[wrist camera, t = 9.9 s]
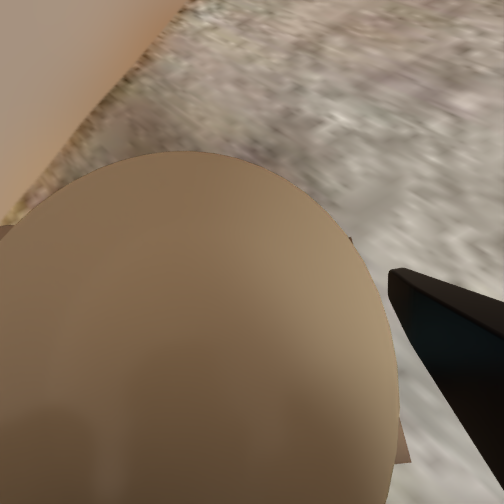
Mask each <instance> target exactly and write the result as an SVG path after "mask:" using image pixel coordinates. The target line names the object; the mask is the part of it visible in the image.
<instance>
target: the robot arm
mask: <svg viewBox="0 0 504 504" xmlns="http://www.w3.org/2000/svg"><path fill="white" fill-rule="evenodd" d="M388 297H389V300H390V302H391V304H392V306H393V308H394V310H395V313H396V315H397V317H398V319H399V321H400V323H401V325H402V327H403V329H404V331H405V333H406V335H407V337H408V339H409V341H410V343H411V345H412V346H413V348H414V350H415V351H416V353H417V355H418V356H419V358H420V359H421V361H422V362H423V364H424V366H425V367H426V369H427V370H428V372H429V373H430V375H431V377H432V378H433V380H434V381H435V383H436V384H437V386H438V388H439V389H440V391H441V392H442V394H443V396H444V397H445V399H446V400H447V402H448V403H449V405H450V407H451V408H452V410H453V411H454V413H455V414H456V416H457V418H458V419H459V421H460V422H461V424H462V425H463V427H464V429H465V430H466V432H467V433H468V435H469V436H470V438H471V440H472V441H473V443H474V444H475V446H476V448H477V449H478V451H479V452H480V454H481V455H482V457H483V459H484V460H485V462H486V463H487V465H488V466H489V468H490V470H491V471H492V473H493V474H494V476H495V477H496V479H497V481H498V482H499V484H500V485H501V487H502V488H503V490H504V302H502V301H499V300H496V299H493V298H490V297H487V296H485V295H482V294H479V293H476V292H473V291H470V290H467V289H464V288H461V287H458V286H456V285H453V284H450V283H447V282H444V281H441V280H438V279H435V278H432V277H430V276H427V275H424V274H421V273H418V272H415V271H412V270H409V269H406V268H397V269H391V270H390V271H389V273H388Z"/></svg>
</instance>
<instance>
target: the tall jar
mask: <svg viewBox="0 0 504 504" xmlns="http://www.w3.org/2000/svg"><path fill="white" fill-rule="evenodd" d="M399 410H400V403H399V386H398V370H397V362H396V356H395V351H394V346H393V341H392V335H391V330H390V326H389V323H388V320H387V317H386V313H385V310H384V307H383V304H382V301H381V298H380V295H379V292H378V290H377V288H376V286H375V284H374V282H373V280H372V278H371V275H370V273H369V271H368V269H367V267H366V265H365V263H364V261H363V259H362V258H361V256H360V255H359V253H358V252H357V250H356V249H355V247H354V246H353V244H352V243H351V241H350V239H349V238H348V236H347V235H346V234H345V233H344V231H343V230H342V229H341V228H340V227H339V226H338V224H337V223H336V222H335V221H334V220H333V218H332V217H331V216H330V215H329V214H328V213H327V212H326V211H325V210H324V209H323V208H322V207H321V206H320V205H319V204H317V203H316V202H315V201H314V200H313V199H312V198H311V197H310V196H309V195H307V194H306V193H305V192H303V191H302V190H300V189H299V188H298V187H296V186H295V185H293V184H292V183H290V182H289V181H287V180H286V179H284V178H282V177H280V176H279V175H277V174H275V173H273V172H271V171H269V170H267V169H265V168H263V167H261V166H258V165H255V164H252V163H249V162H246V161H244V160H241V159H238V158H233V157H229V156H224V155H220V154H215V153H206V152H195V151H174V152H161V153H154V154H147V155H141V156H137V157H133V158H129V159H125V160H121V161H118V162H116V163H113V164H110V165H107V166H105V167H102V168H99V169H97V170H95V171H93V172H91V173H89V174H87V175H85V176H82V177H80V178H78V179H76V180H75V181H73V182H71V183H70V184H68V185H66V186H65V187H63V188H61V189H60V190H58V191H57V192H55V193H53V194H52V195H51V196H49V197H48V198H47V199H45V200H44V201H43V202H41V203H40V204H39V205H37V206H36V207H35V208H33V209H32V210H31V211H30V212H29V213H28V214H27V215H26V216H25V217H23V218H22V219H21V220H20V221H19V222H18V223H17V224H16V225H15V226H14V227H13V228H12V229H11V230H10V231H9V232H8V233H7V234H6V235H5V236H4V237H3V238H2V239H1V241H0V504H385V502H386V499H387V497H388V492H389V487H390V482H391V477H392V472H393V467H394V462H395V457H396V452H397V440H398V425H399Z"/></svg>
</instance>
